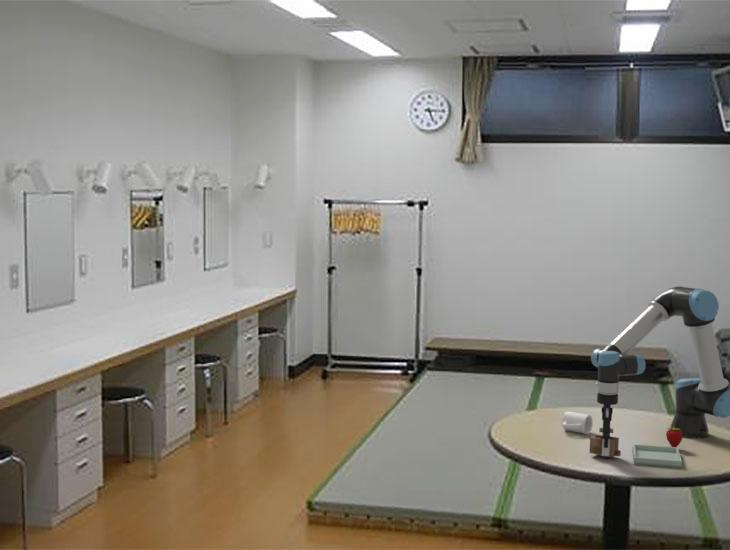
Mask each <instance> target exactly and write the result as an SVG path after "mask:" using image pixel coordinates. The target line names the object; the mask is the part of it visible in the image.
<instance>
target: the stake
mask: <svg viewBox="0 0 730 550" xmlns="http://www.w3.org/2000/svg"><path fill="white" fill-rule="evenodd" d="M598 429H599V431H598V432H599V433H603V428H602V427H599V428H598ZM610 434H614V428H611V427H610ZM609 457H610V456H602V455H601V458H604V459H608V458H609Z"/></svg>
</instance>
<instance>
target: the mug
mask: <svg viewBox="0 0 730 550" xmlns="http://www.w3.org/2000/svg"><path fill="white" fill-rule="evenodd" d="M593 423H594V420H593V417H592V415H591V414H586V413H582V412H581V413H580V412H574V411H565V412H564V414H563V417H562V421H561V424H562V428H563V430H564V431H568V432H573V433H576V434H577V433H578V434H583V435H588V434H590V433H591V431H592V429H593Z"/></svg>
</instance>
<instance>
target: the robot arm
mask: <svg viewBox="0 0 730 550" xmlns="http://www.w3.org/2000/svg"><path fill="white" fill-rule="evenodd" d="M719 304H720V303H719V301H718V298H717V296H716V295H715V293H713V292H711V291H710V290H707V289H703V288H693V287H687V286H679V285H678V286H674V287H671V288H669V289H666V290H664V291H662V292H661V293H659V294H658V295H656V296H655V297H654V298H653V299H651V301H649V303H648V307H647V308H646V309H645V310H644V311H643V312H642V313H641V314H639V315H638V316H637V317H636V318H635V319H634V320H633V321H632V322H631V323H630V324H628V326H627V327H626V328H624V329H623V330H622V331H621V332H620V333H619V334H618V335H617V336H616V337H615V338H614V339H613V340H611V341H610V342H609V343H608V344H607V345H606V346H605V347H604V348H602V347H601V348H596V349H594V350H593V351H592V352H591V357H590V360H591V361H590V362H591V364H592V365H593V366H594V367H596V368H597V383H595V386H597V393H596V394H597V395H596V402H597V403H598V404H600V405H602V407H601V415H602V416H601V421H602V427H601V428H603V433H602V432H601V433H602V434H601V435H603V437H601V439H602V455H601V457H602V456H609V451H610V436H611V433H610V428H611V421H612V416H613V412H614V411H613V407H611V405H612V406H613V405H617V404H618V403H619V394H618V393H619V388H620V387H619V383H620V381H619V379H620V377H627V376H636V375H640V374H643V373H644V372H645V370H646V361H645V358H644V357H643V356H642V355H641V354H630V352H631V351H632V350H633V349H634V348H635V347H636V346H637V345H638V344H640V342H641V341H642V340H644V339H645V338H646V337H647V336H648V335H649V334H650V333H651V332H652V331H653V330H654V329H655V328H657V327H658V326H659V325H660V324H661V323H662V322H666V321H668V320H669V319H670V318H672V317H675V316H677V317H682V320H683V325H684V326H685V327H687V328H689V334H690V337H691V342H692V346H693V351H694V352H693V353H694V355H695V360H696V363H697V369H698V373H699V374H698V375H699V377H698V378H696V377H690V378H689V377H688V378H687V377H686V378H680V379H678V380H677V381H676V388H675V409H674V416H673V418H672V422H671V423H670V426H669V428H673V427H674V426H675V428H680V430H679V431H681V433H682V435H683V438H690V437H696V438H695V439H699V438H698V437H702V438H707V437H708V436H709V426H708V422H707V420H706V414H707V415H711V416H714V417H717V418H722V419H726V418H729V417H730V383H729V380H728V379H726V378H724V373H723V369H722V366H721V364H722V363H721V360H720V355H719V351H718V346H717V343H716V338H715V332H714V328H713V323H714V322H715V320H716V317H717V315H718V313H719V312H718V311H719V307H720V306H719ZM628 353H629V354H628ZM673 424H674V425H673ZM609 457H610V456H609Z"/></svg>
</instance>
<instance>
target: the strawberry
mask: <svg viewBox="0 0 730 550" xmlns="http://www.w3.org/2000/svg"><path fill="white" fill-rule="evenodd" d="M673 425H674V424H673ZM666 429H667V431H666V434H665V436H666V440H667V442H668V443H669V445H670V447H677V448H678V446H679V445H680V444H681V442H682V440H683V438H684V437H683V435H682V433H681V431H679V430H680V428H675V426H674V427H673V428H670V427H667V428H666Z"/></svg>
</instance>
